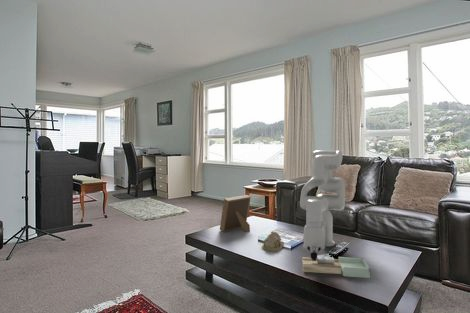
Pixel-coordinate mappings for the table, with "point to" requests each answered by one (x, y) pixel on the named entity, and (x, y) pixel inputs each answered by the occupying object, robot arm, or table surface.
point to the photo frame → (235, 213)
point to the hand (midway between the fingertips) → (313, 259)
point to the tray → (354, 267)
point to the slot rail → (320, 266)
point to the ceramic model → (272, 242)
